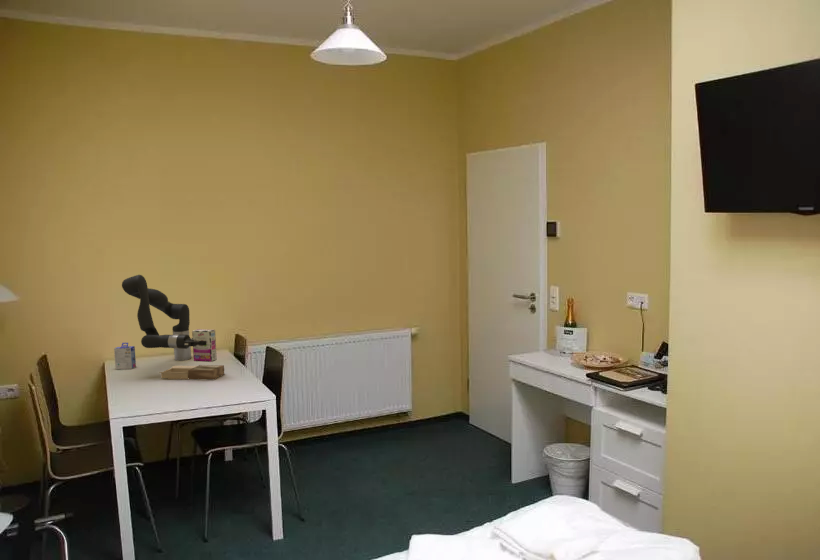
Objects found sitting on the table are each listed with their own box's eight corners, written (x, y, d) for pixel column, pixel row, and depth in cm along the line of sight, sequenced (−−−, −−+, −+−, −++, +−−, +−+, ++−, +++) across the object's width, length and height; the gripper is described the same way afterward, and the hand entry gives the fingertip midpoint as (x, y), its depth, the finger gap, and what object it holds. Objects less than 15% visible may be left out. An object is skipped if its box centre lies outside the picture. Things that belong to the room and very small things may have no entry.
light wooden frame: (173, 372, 354) (172, 365, 353) (200, 373, 351) (199, 366, 351) (159, 379, 340) (158, 372, 340) (186, 379, 337) (186, 372, 337)
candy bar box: (217, 360, 342) (215, 329, 341) (211, 362, 338) (210, 331, 336) (198, 359, 346) (197, 328, 344) (193, 361, 341) (191, 330, 339)
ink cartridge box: (136, 366, 371) (134, 341, 370) (132, 369, 366) (130, 343, 364) (119, 367, 372) (117, 342, 370) (115, 369, 366) (113, 344, 365)
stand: (200, 373, 350) (199, 364, 349) (224, 374, 347) (223, 365, 347) (188, 379, 338) (188, 370, 338) (213, 379, 336) (213, 370, 335)
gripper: (171, 336, 336) (201, 337, 333) (185, 332, 350) (215, 332, 347) (172, 351, 337) (202, 351, 334) (186, 345, 351) (215, 346, 348)
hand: (208, 342), depth 340 cm, fingers closed on candy bar box, 5 cm apart
